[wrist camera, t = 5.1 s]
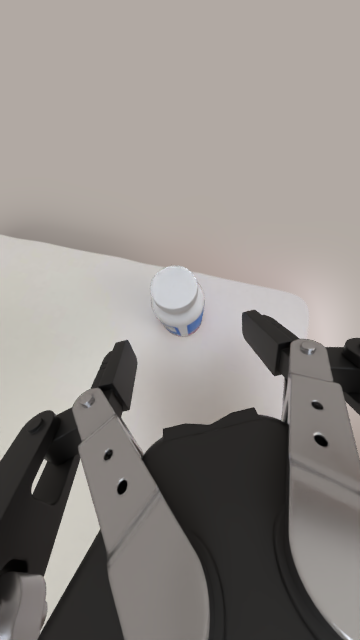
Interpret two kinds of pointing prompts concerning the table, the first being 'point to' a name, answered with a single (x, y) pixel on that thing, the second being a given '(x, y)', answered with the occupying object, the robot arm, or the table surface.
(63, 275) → the table surface
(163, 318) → the pill bottle
